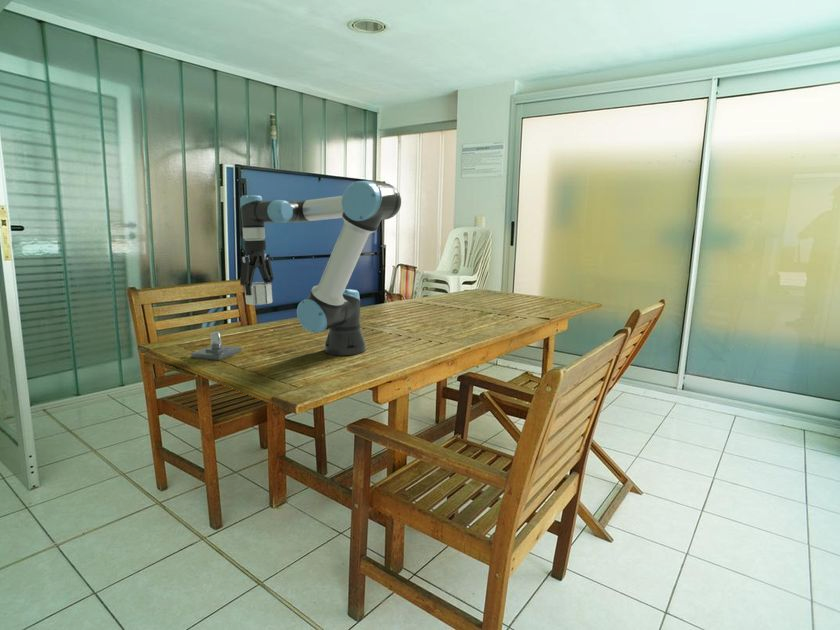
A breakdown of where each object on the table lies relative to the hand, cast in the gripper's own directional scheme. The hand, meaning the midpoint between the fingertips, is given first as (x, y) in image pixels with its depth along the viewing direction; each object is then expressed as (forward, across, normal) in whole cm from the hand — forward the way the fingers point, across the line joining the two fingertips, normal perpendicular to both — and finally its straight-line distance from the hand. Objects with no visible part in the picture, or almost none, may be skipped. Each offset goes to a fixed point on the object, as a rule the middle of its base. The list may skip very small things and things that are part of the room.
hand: (259, 301), depth 181 cm
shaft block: (+18, +10, -12) cm, 24 cm away
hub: (0, 0, 0) cm, 0 cm away
